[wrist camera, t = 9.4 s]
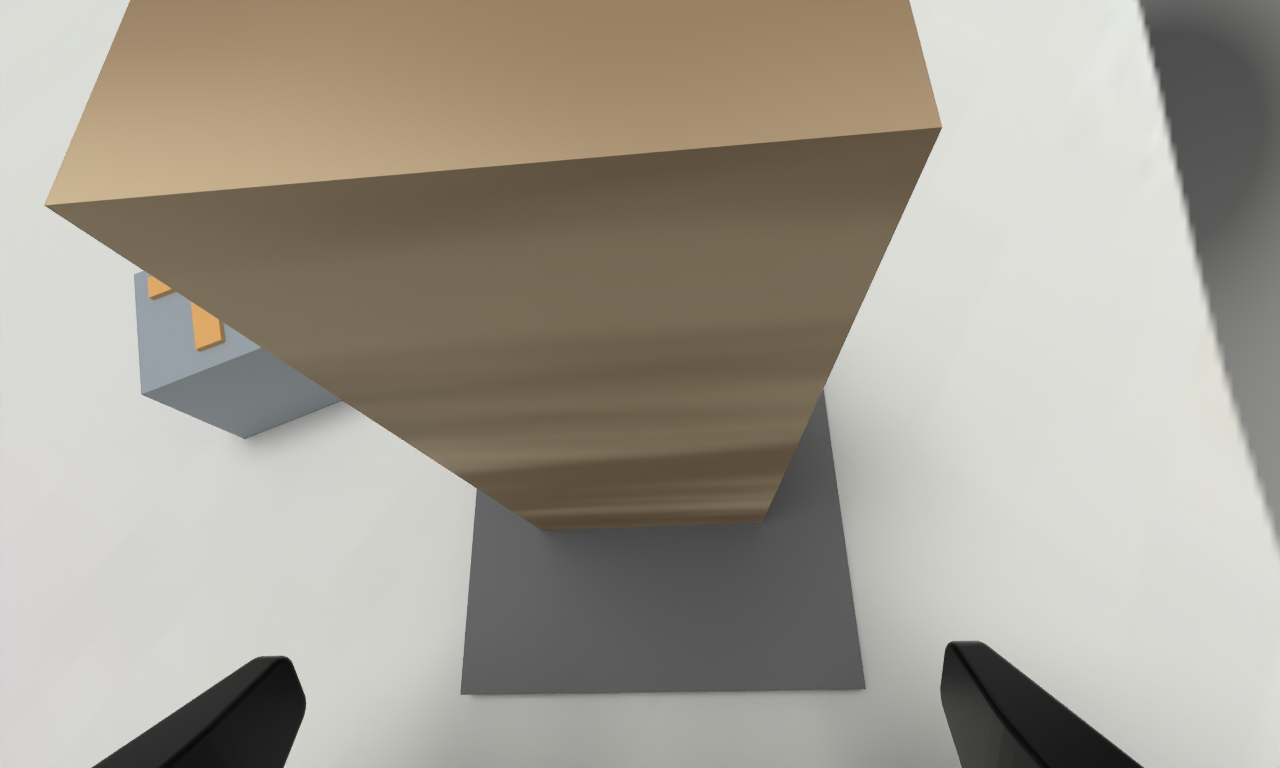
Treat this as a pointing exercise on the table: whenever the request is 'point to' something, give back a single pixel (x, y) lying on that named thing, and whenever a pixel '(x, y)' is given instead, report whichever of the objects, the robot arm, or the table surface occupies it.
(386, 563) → the table surface
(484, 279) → the wooden block
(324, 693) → the table surface
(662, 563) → the charcoal mat
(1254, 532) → the table surface
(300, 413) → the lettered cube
